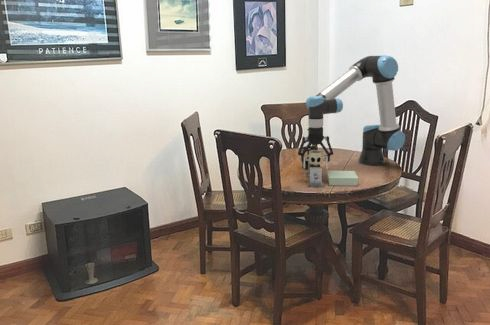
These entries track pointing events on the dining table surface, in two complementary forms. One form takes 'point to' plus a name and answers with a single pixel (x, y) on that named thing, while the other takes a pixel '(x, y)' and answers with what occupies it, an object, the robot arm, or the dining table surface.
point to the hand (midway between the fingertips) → (315, 167)
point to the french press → (308, 153)
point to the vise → (315, 176)
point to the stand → (342, 178)
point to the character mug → (315, 158)
